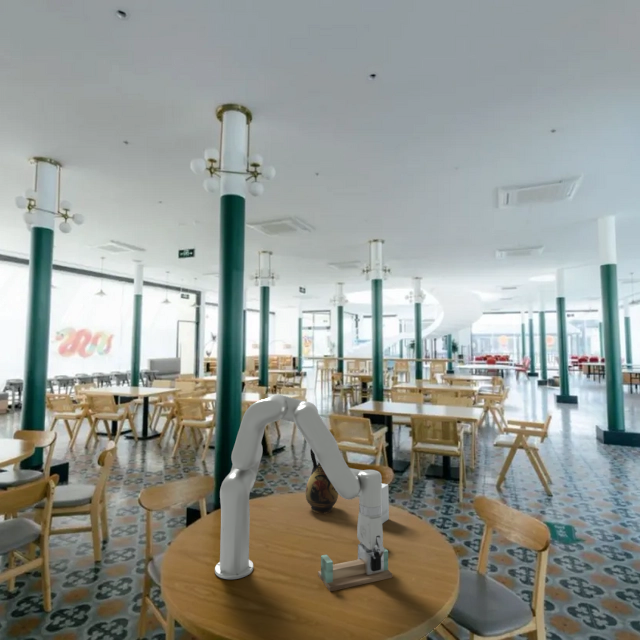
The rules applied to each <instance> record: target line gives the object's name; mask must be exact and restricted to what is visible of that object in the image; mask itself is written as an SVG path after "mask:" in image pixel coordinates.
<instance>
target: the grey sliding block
mask: <svg viewBox="0 0 640 640" xmlns="http://www.w3.org/2000/svg"><path fill="white" fill-rule="evenodd" d="M375 547H377V545H375ZM376 552H378V550H377V549H375V554H376ZM372 558H373V556H372V550H369V549H368V548H367V547H366V546H364V545H363V544H360V543H357V560H359V559H362V560H363V561H364V562H365V573H366V574H367V575H370V574H375V573H379V572H384V553H383V555H382V558H381V570H378V571H372Z"/></svg>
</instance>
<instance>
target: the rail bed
mask: <svg viewBox="0 0 640 640" xmlns="http://www.w3.org/2000/svg"><path fill="white" fill-rule="evenodd" d="M383 548H384V572H379V573H375V574H370V575H367V574H366V573H365V562H364V561H363V560H362V559H359V560H358V559H355V560H349V561H344V562H340V563H339V562H338V563H335V564H334V562H333V560H332V559H331V558H330V557H329V555H328V554H323V555H321V556H320V570H318V571H317V575H318V577H319V579H320V580H321V581H322V582H323V584H324V585H325V587H326V588H327V589H328V591H329V592H334V591H339V590H342V589H346V588H347V589H348V588H351V587H358V586H361V585H364V584H369V583H373V582H378V581H379V582H380V581H382V580H387V579H392V578H393V573H392V572H391V571H390V570H389V550H388V549H387V548H386V547H384V546H383Z"/></svg>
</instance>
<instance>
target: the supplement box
mask: <svg viewBox="0 0 640 640" xmlns="http://www.w3.org/2000/svg"><path fill="white" fill-rule="evenodd" d="M389 499H390V497H389V484H388V483H387V484H386V483H382V515H381V519H382V525H383V524H384V523H385V522H387V521H388V520H389V519H390V507H389V506H390V505H389V503H390V502H389Z"/></svg>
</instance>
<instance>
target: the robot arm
mask: <svg viewBox="0 0 640 640" xmlns="http://www.w3.org/2000/svg"><path fill="white" fill-rule="evenodd" d="M280 420H283V421H288V422H291V423H294V424H295V426H296V427H297V429H298V431H299V432H300V434H301V435H302V437H303V438H304V440H305V441H306V443H307V444H308V446H309V447H310V450H311V449H312V451H313V452H314V454H315V459H316V461H318V463H320V465H321V466H322V468H323V470H324V472H325V474H326V475H327V477H328V479H329V480H330V482H331V483H332V485H333V486H334V488H335V489H336V491H337V492H338V496H340V497H341V498H343V499H345V500H353V499H355V498H356V497H357V496H358V495H359V497H358V498H359V499H358V500H359V502H358V503H359V504H358V506H359V507H358V509H359V510H358V516H357V517H358V518H357V528H356V529H357V530H356V531H357V533H356V534H357V535H356V537H357V540H358V541H359V544H363V545H364V546H366V547H367V548H368V549H369V550H372V556H373V558H372V571H378V570H381V558H382V555H383V553H384V548H385V547H384V533H383V524H382V519H381V515H382V482H383V480H382V474H381V472H380V471H378V470H376V469H364V470H363V469H357V468H352V467H349V465H348V464H347V463H346V460H345V459H344V456H343V455H342V453H341V451H340V448H339V445H338V442H337V441H336V438H335V436H334V435H333V434H332V432H331V431H330V429H329V428H328V427H327V425H326V424H325V422H324V421H323V419H322V418H321V415H320V414H319V411H318V408H317V406H316V405H315V404H314V403H312V402H310V401H306V400H303V399H299V398H295V397H289V396H286V395H282V394H273V395H270V396H269V397H267V398H264V399H260V400H257V401H256V402H254V403H252V404H251V405H250V406H248V407H247V409H246V410H245V412H244V414H243V417H242V419H241V423H240V426H239V429H238V431H237V435H236V439H235V443H234V445H233V449H232V451H231V456H230V458H231V463H232V465H231V468H230V472H229V473H228V474H227V475H226V476H225V478H224V479H223V481H222V482H221V486H220V490H219V498H220V499H219V502H220V545H219V546H220V548H219V549H220V550H219V553H220V555H219V562H218V563H216V565H215V567H214V573H215V575H216V576H217V577H218V578H220V579H224V580H237V579H242V578H244V577H247V576H248V575H250V574H251V573H252V572H253V570H254V563H253V561H252V560H250V528H251V527H250V521H251V519H250V511H251V509H250V493H251V491H252V488H253V487H254V485H255V483H256V479H257V475H258V472H259V468H260V464H261V461H262V456H263V452H264V451H263V445H262V440H263V437H264V433H265V430H266V427H267V425H268V424H271V423H275V422H278V421H280ZM375 545H377V547H375ZM383 547H384V548H383ZM375 549H377V550H378V552H376V554H375Z"/></svg>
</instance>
